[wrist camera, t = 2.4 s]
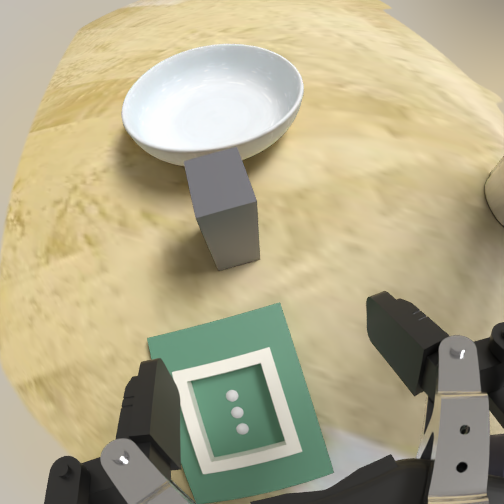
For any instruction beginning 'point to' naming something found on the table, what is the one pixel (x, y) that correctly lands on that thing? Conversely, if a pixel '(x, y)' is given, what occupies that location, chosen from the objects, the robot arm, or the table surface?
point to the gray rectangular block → (224, 207)
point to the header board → (242, 407)
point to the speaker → (496, 455)
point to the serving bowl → (213, 102)
